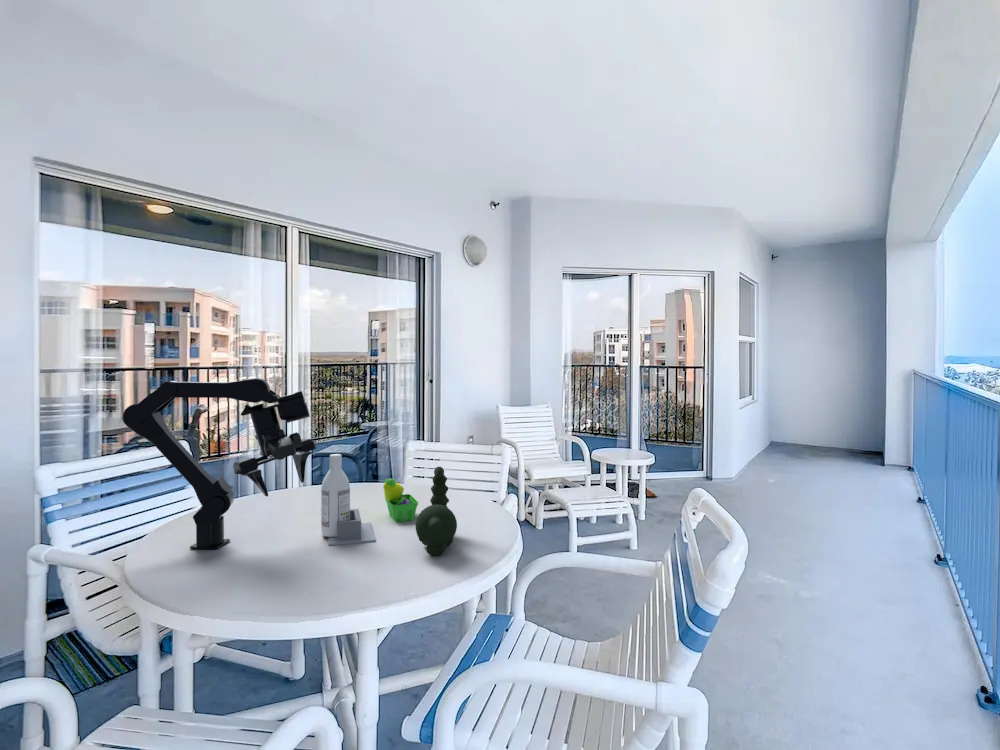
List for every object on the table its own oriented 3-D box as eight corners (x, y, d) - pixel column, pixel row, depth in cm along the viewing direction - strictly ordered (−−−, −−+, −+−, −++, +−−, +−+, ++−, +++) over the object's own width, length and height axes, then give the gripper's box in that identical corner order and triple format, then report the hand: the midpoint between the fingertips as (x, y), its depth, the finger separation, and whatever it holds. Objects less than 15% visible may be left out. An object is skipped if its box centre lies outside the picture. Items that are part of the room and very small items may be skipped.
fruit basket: (419, 520, 159) (419, 480, 159) (387, 524, 156) (387, 482, 156) (410, 511, 170) (410, 473, 170) (379, 513, 167) (379, 475, 166)
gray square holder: (328, 545, 137) (328, 525, 137) (328, 527, 153) (328, 509, 153) (375, 541, 140) (375, 521, 140) (370, 524, 156) (370, 506, 156)
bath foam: (352, 529, 149) (351, 452, 149) (347, 537, 142) (347, 456, 142) (324, 530, 149) (324, 452, 148) (318, 538, 142) (318, 457, 141)
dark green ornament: (421, 538, 148) (412, 563, 123) (421, 464, 150) (413, 474, 125) (457, 538, 149) (456, 562, 124) (458, 464, 150) (456, 474, 125)
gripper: (240, 439, 128) (259, 506, 130) (317, 416, 141) (334, 476, 142) (224, 440, 136) (242, 502, 138) (298, 417, 149) (314, 475, 150)
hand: (285, 489), depth 142 cm, fingers open, 9 cm apart
